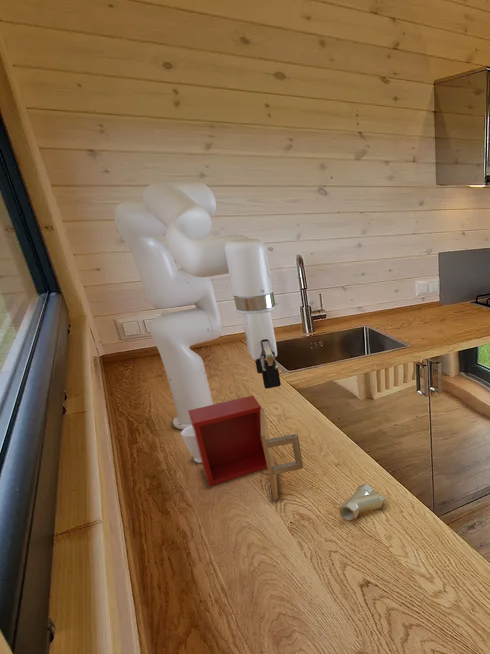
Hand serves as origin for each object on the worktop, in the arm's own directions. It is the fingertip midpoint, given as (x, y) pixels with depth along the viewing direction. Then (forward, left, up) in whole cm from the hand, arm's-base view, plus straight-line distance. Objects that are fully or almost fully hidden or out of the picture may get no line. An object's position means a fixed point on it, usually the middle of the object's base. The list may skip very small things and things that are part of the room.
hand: (268, 379), depth 106 cm
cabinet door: (+4, -1, -23) cm, 24 cm away
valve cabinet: (-8, -9, -24) cm, 26 cm away
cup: (-20, -15, -24) cm, 34 cm away
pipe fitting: (+25, +9, -24) cm, 36 cm away
